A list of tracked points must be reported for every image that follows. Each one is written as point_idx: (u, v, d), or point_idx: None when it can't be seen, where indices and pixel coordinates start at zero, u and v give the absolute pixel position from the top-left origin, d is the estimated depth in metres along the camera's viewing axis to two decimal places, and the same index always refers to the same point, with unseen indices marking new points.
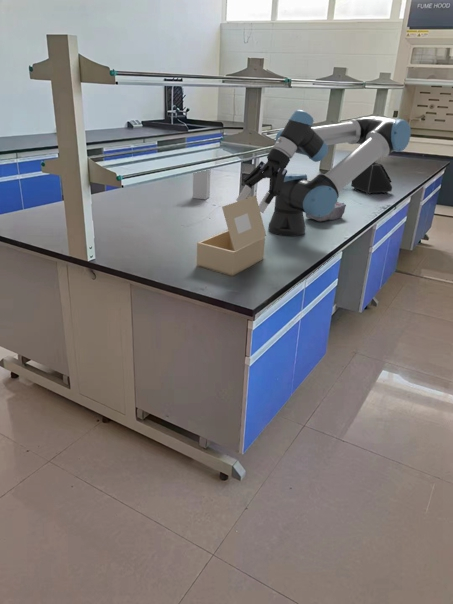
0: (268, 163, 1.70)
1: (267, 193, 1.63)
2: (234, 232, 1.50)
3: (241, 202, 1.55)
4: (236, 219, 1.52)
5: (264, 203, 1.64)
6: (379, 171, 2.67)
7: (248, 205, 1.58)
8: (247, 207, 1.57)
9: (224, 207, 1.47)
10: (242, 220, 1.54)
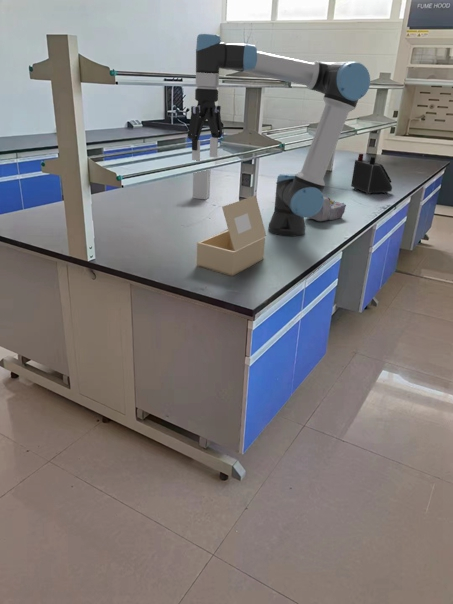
0: None
1: None
2: (234, 232, 1.50)
3: (241, 202, 1.55)
4: (236, 219, 1.52)
5: (194, 151, 1.63)
6: (379, 171, 2.67)
7: (248, 205, 1.58)
8: (247, 207, 1.57)
9: (224, 207, 1.47)
10: (242, 220, 1.54)
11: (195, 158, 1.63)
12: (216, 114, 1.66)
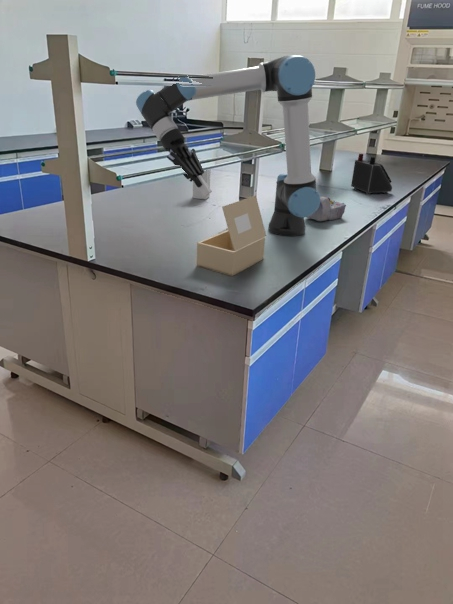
0: None
1: None
2: (234, 232, 1.50)
3: (241, 202, 1.55)
4: (236, 219, 1.52)
5: (201, 187, 1.60)
6: (379, 171, 2.67)
7: (248, 205, 1.58)
8: (247, 207, 1.57)
9: (224, 207, 1.47)
10: (242, 220, 1.54)
11: (205, 192, 1.60)
12: (192, 155, 1.64)
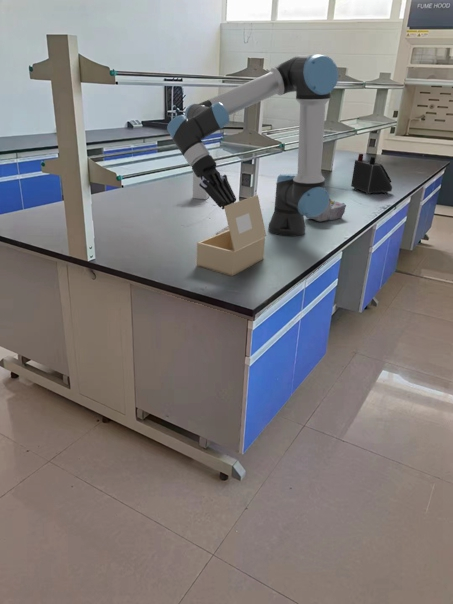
0: None
1: None
2: (235, 232, 1.50)
3: (243, 202, 1.54)
4: (238, 219, 1.51)
5: None
6: (379, 171, 2.67)
7: (250, 205, 1.57)
8: (249, 207, 1.57)
9: (226, 207, 1.47)
10: (243, 220, 1.54)
11: None
12: (224, 182, 1.59)
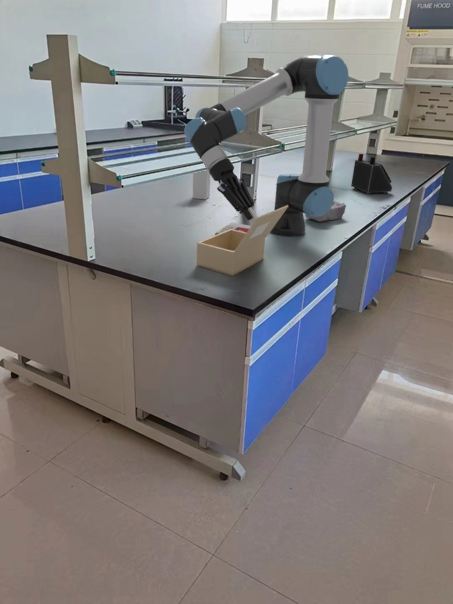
0: None
1: None
2: (247, 238, 1.48)
3: (273, 213, 1.50)
4: (258, 227, 1.48)
5: (251, 220, 1.53)
6: (379, 171, 2.67)
7: (276, 215, 1.53)
8: (274, 216, 1.53)
9: (258, 219, 1.42)
10: (261, 228, 1.51)
11: None
12: (241, 186, 1.56)
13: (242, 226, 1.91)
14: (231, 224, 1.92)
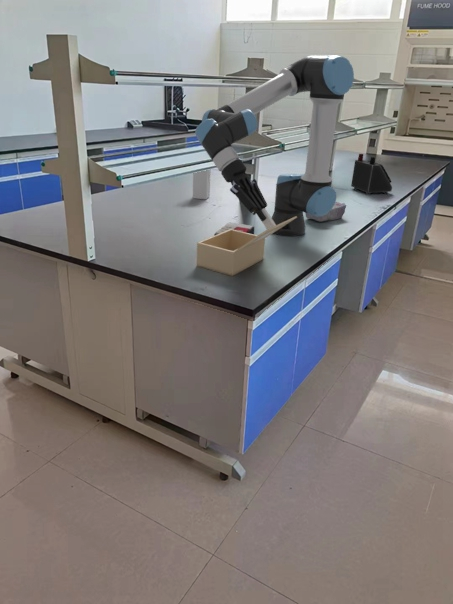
0: None
1: None
2: (250, 243, 1.48)
3: (282, 224, 1.49)
4: (263, 235, 1.48)
5: (265, 221, 1.51)
6: (379, 171, 2.67)
7: (283, 224, 1.53)
8: (281, 226, 1.53)
9: (267, 231, 1.42)
10: (266, 235, 1.51)
11: (270, 226, 1.50)
12: (253, 187, 1.54)
13: (241, 226, 1.92)
14: (230, 224, 1.93)
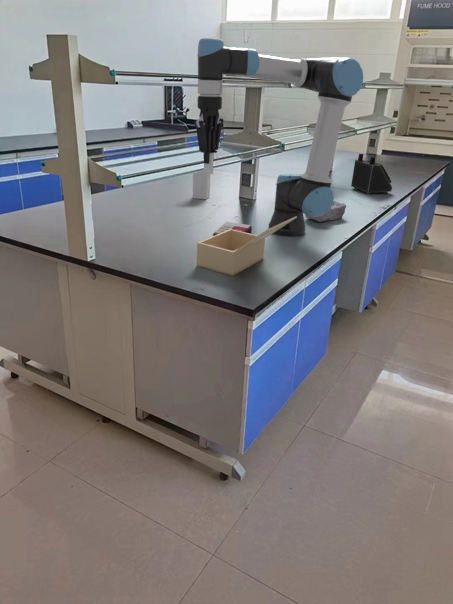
0: None
1: None
2: (250, 243, 1.48)
3: (282, 224, 1.49)
4: (263, 235, 1.48)
5: (206, 164, 1.58)
6: (379, 171, 2.67)
7: (283, 224, 1.53)
8: (281, 226, 1.53)
9: (267, 231, 1.42)
10: (266, 235, 1.51)
11: (207, 171, 1.59)
12: (217, 126, 1.57)
13: (238, 225, 1.92)
14: (227, 224, 1.93)
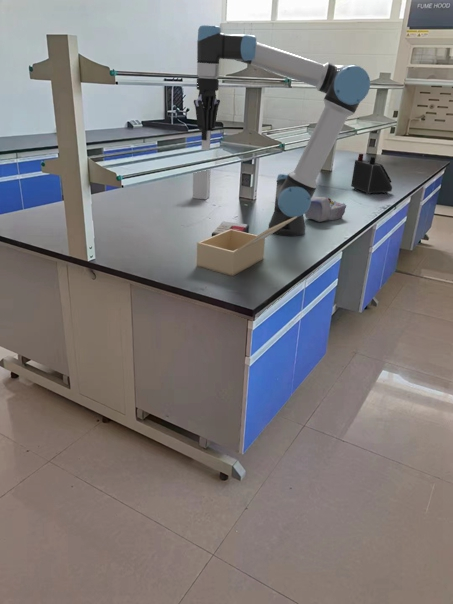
0: None
1: None
2: (250, 243, 1.48)
3: (282, 224, 1.49)
4: (263, 235, 1.48)
5: (204, 141, 1.74)
6: (379, 171, 2.67)
7: (283, 224, 1.53)
8: (281, 226, 1.53)
9: (267, 231, 1.42)
10: (266, 235, 1.51)
11: (204, 147, 1.75)
12: (214, 106, 1.73)
13: (235, 224, 1.93)
14: (225, 223, 1.93)
